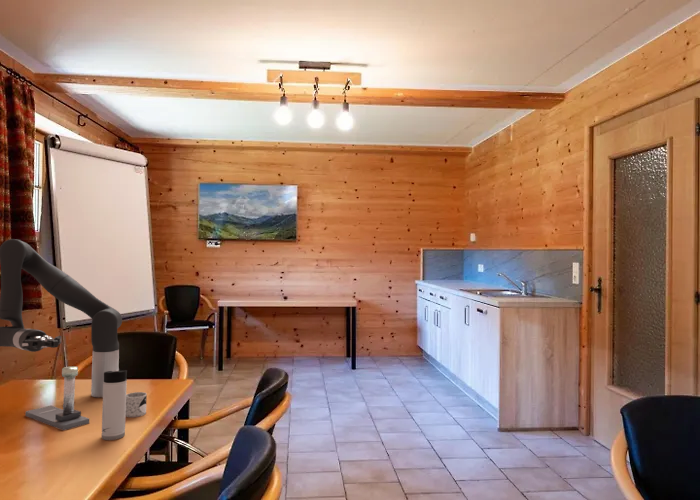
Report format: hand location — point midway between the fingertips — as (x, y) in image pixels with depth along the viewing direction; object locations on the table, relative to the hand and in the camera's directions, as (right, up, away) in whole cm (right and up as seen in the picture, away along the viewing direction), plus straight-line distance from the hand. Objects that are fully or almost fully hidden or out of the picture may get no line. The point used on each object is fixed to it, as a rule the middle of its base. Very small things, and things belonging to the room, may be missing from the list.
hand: (55, 344), depth 156 cm
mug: (+24, -25, +7) cm, 36 cm away
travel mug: (+27, -25, -16) cm, 40 cm away
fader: (+7, -23, -6) cm, 24 cm away
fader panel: (+2, -24, -2) cm, 24 cm away
